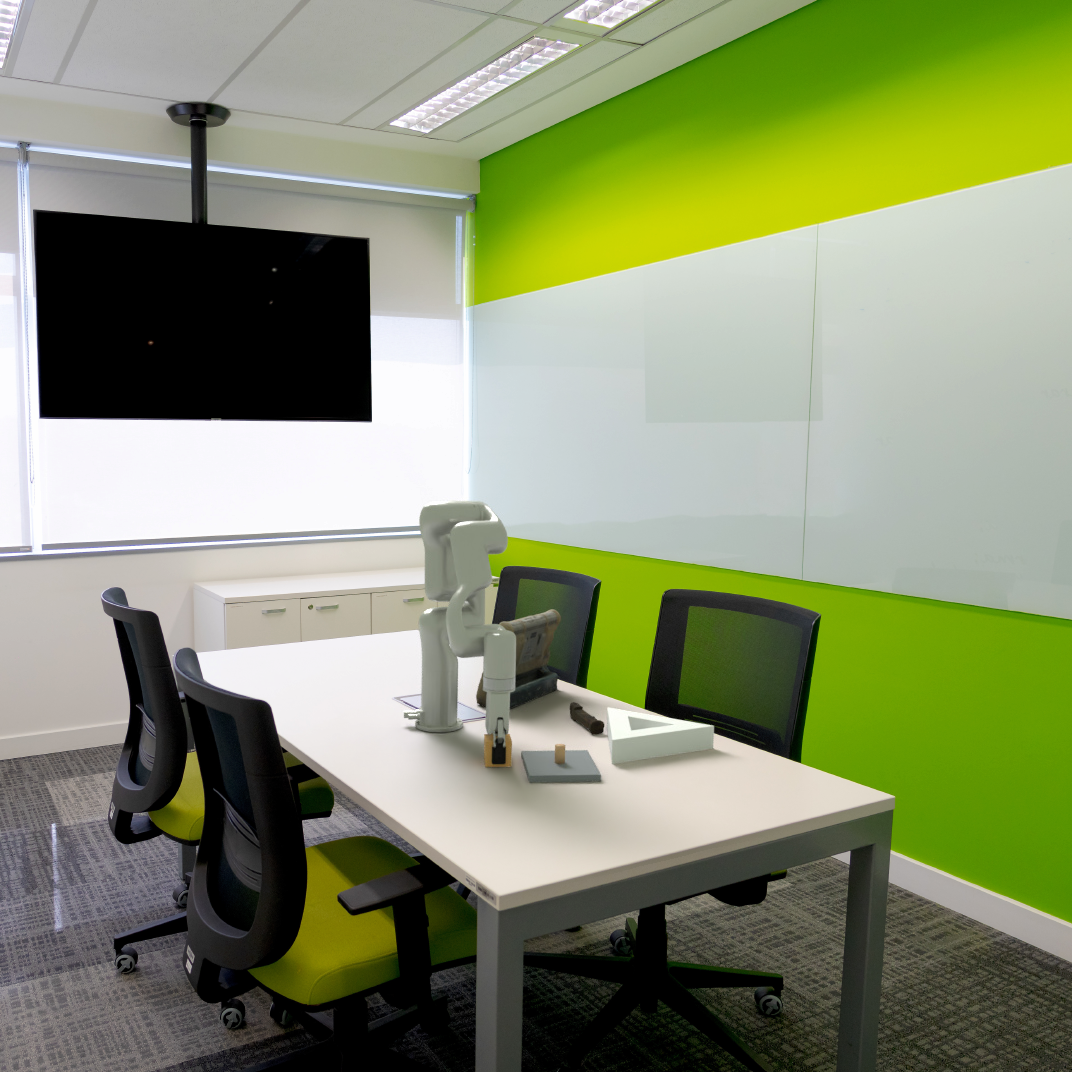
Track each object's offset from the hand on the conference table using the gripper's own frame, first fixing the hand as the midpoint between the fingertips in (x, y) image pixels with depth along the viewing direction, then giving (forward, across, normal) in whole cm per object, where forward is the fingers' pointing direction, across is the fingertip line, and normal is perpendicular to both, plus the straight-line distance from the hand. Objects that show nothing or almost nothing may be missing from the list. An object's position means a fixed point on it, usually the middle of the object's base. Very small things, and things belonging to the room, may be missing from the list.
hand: (497, 758), depth 230 cm
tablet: (+1, -62, +11) cm, 63 cm away
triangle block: (+2, -11, +42) cm, 43 cm away
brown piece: (+1, -31, +25) cm, 40 cm away
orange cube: (+1, 0, 0) cm, 1 cm away
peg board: (+1, +5, +14) cm, 15 cm away
